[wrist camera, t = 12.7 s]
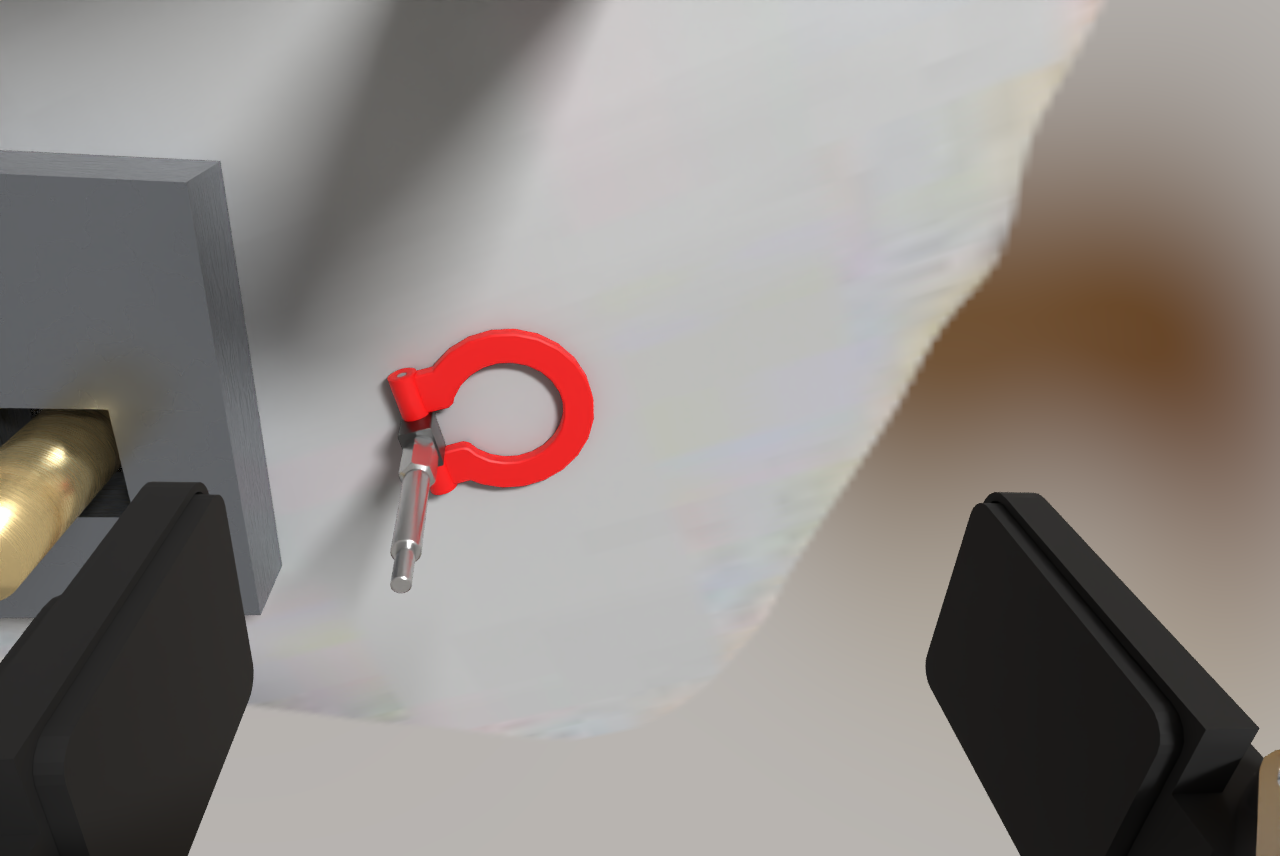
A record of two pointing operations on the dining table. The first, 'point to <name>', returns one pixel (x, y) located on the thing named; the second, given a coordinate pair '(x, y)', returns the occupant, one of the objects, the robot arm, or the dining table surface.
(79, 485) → the brass pin
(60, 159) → the grey block with hole
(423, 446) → the tow hook
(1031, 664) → the robot arm
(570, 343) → the dining table surface
